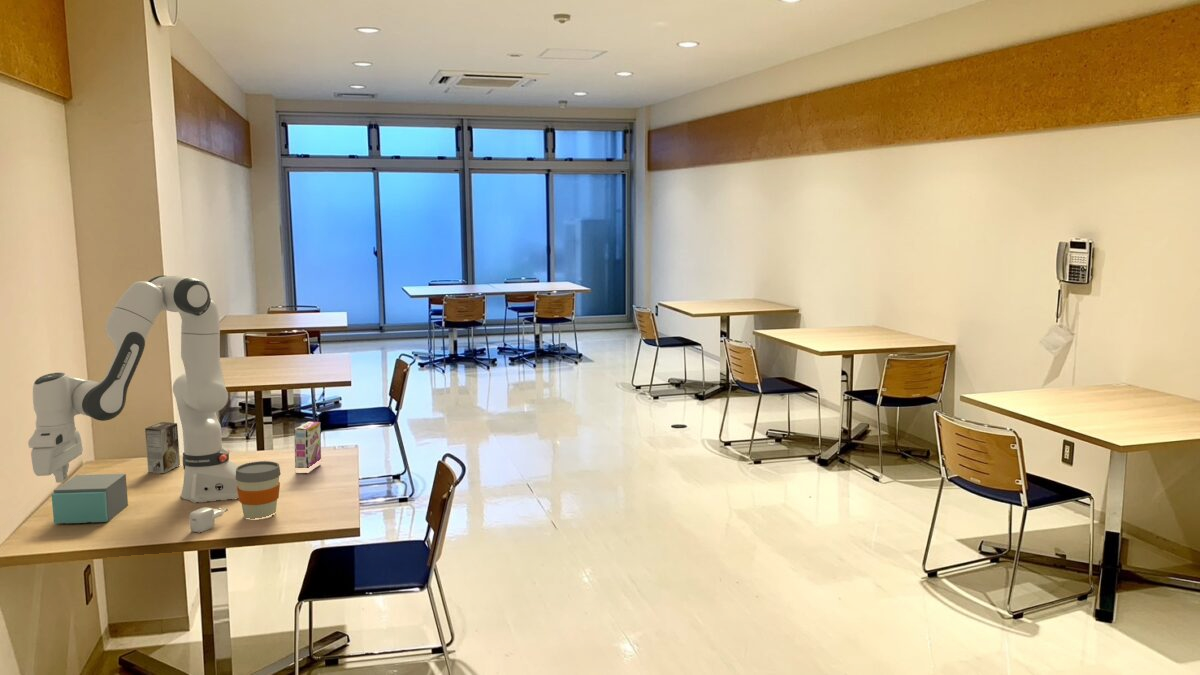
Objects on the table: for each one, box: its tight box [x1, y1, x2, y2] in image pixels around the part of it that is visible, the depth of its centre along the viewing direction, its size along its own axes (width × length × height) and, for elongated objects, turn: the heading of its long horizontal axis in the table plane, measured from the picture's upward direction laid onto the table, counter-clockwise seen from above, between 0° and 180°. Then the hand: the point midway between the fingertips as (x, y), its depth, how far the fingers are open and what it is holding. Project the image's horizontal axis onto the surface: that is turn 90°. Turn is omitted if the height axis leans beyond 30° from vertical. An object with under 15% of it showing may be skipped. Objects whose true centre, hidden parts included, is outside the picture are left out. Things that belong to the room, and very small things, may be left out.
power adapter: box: [189, 506, 229, 533], centre depth 238 cm, size 11×5×6 cm, turn 160°
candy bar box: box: [294, 421, 322, 469], centre depth 291 cm, size 11×5×16 cm, turn 174°
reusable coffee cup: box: [235, 460, 281, 519], centre depth 247 cm, size 13×12×15 cm
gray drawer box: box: [53, 473, 129, 523], centre depth 245 cm, size 14×14×10 cm
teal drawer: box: [51, 491, 108, 525], centre depth 244 cm, size 14×14×9 cm
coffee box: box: [144, 421, 181, 474], centre depth 289 cm, size 9×6×16 cm
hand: (61, 480), depth 226 cm, fingers closed
